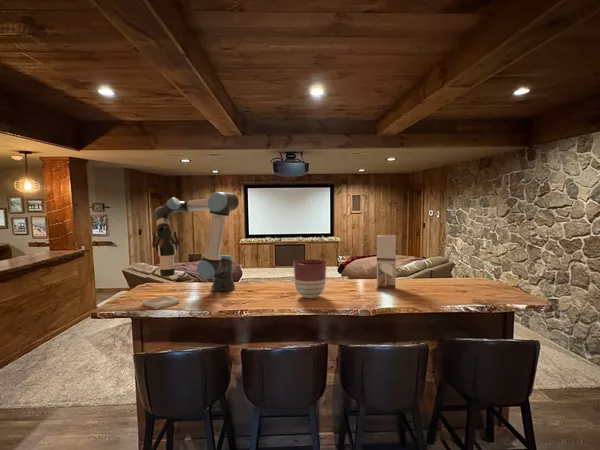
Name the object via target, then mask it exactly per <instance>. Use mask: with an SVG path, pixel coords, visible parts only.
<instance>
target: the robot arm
mask: <svg viewBox="0 0 600 450" xmlns="http://www.w3.org/2000/svg"><path fill="white" fill-rule="evenodd" d="M239 203H240V200H239V198H238V196H237V194H235V193H232V192H224V191H223V192H222V191H216V192H213V193H212V194H210V195H209V197H208V198H201V199H192V200H179V199H178V198H176V197H171V198H169V199H168V200H167V201H166V202H165V203H164V205H162V206H158V207H156V208H155V209H154V210H155V211H154V217H155V221H156V227H157V232H152V237H153V238H152V244H151V245H152V248H155V251H156V252H158V257H160V247H161V246H160V243H161V241H163V228H164V226H168V228H169V241H170V243H171V244H172V246H173V247H174V256H177V251H178V246H180V243H181V242H180V240H179V239H178V236H177V232H176V231H173V232H172V231H171V226H170V219H169V217H171V216H172V215H173V214H174V213H191V212H201V211H209V214H210V215H211V217H210V218H211V219H210V225H209V230H208V236H207V237H208V238H207V243H206V250H205V253H204V254H203V255H202V257H201V260H200V261H199V262H198V264H197V265H196V271H197V274H199V276H200V278H202V279H204V280H209V279H213V281H212V284H211V291H212V292H216V293H225V292H227V293H228V292H231V291H234V290H236V284H235V281H234V279H233V259H232V255H229V254H228V255H227V254H221V250H222V249H221V248H222V243H223V237H224V233H225V225H226V221H227V218H229V217H230V212H233V211H235V210H236V209H238V206H239ZM171 235H172V236H171ZM157 236H158V239H157V240H156V238H157ZM173 238H174V239H173Z"/></svg>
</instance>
